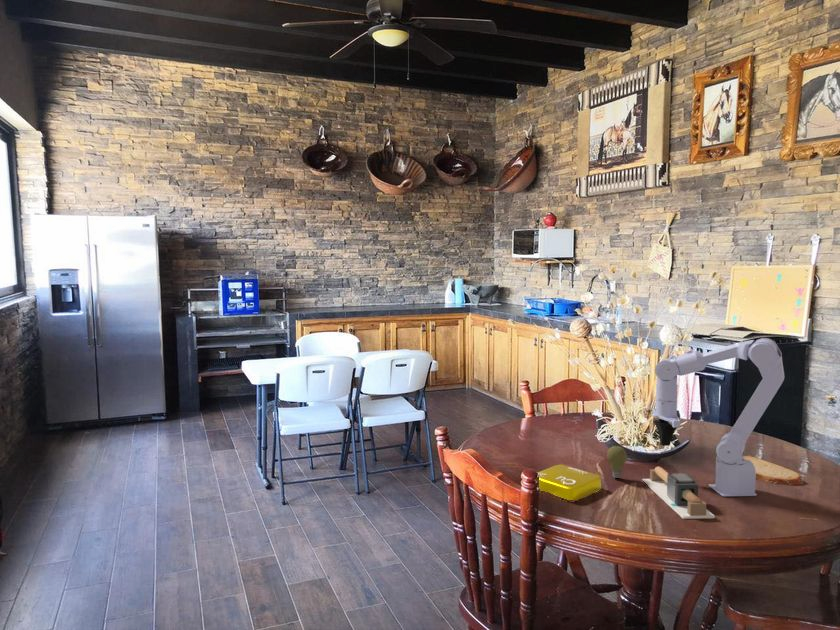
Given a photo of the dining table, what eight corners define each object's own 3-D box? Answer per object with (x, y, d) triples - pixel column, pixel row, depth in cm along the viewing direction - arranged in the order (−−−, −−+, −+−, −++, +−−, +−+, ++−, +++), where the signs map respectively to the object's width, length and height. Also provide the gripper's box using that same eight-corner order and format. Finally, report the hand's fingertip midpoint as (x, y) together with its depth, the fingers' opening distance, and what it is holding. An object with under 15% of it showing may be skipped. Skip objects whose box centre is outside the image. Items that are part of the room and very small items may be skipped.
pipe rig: (642, 480, 173) (642, 464, 173) (669, 480, 173) (669, 464, 173) (683, 518, 147) (683, 499, 147) (714, 518, 147) (715, 499, 147)
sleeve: (667, 495, 160) (667, 473, 159) (685, 494, 160) (686, 473, 159) (675, 502, 155) (675, 480, 154) (694, 502, 155) (695, 480, 154)
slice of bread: (807, 487, 168) (808, 474, 167) (738, 483, 171) (739, 470, 171) (782, 466, 185) (783, 454, 185) (721, 462, 189) (721, 451, 189)
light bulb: (602, 476, 177) (603, 444, 176) (617, 474, 179) (618, 442, 178) (615, 483, 171) (615, 449, 171) (630, 480, 173) (631, 447, 173)
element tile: (603, 490, 167) (603, 474, 167) (573, 505, 157) (573, 488, 157) (559, 476, 178) (559, 461, 178) (528, 489, 169) (528, 473, 168)
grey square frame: (674, 502, 155) (675, 483, 154) (695, 502, 155) (695, 482, 154) (677, 505, 153) (677, 485, 153) (697, 504, 153) (698, 484, 153)
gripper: (643, 394, 179) (642, 437, 180) (663, 405, 165) (662, 453, 166) (666, 394, 179) (665, 437, 181) (688, 405, 165) (687, 452, 166)
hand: (665, 445), depth 173 cm, fingers closed
